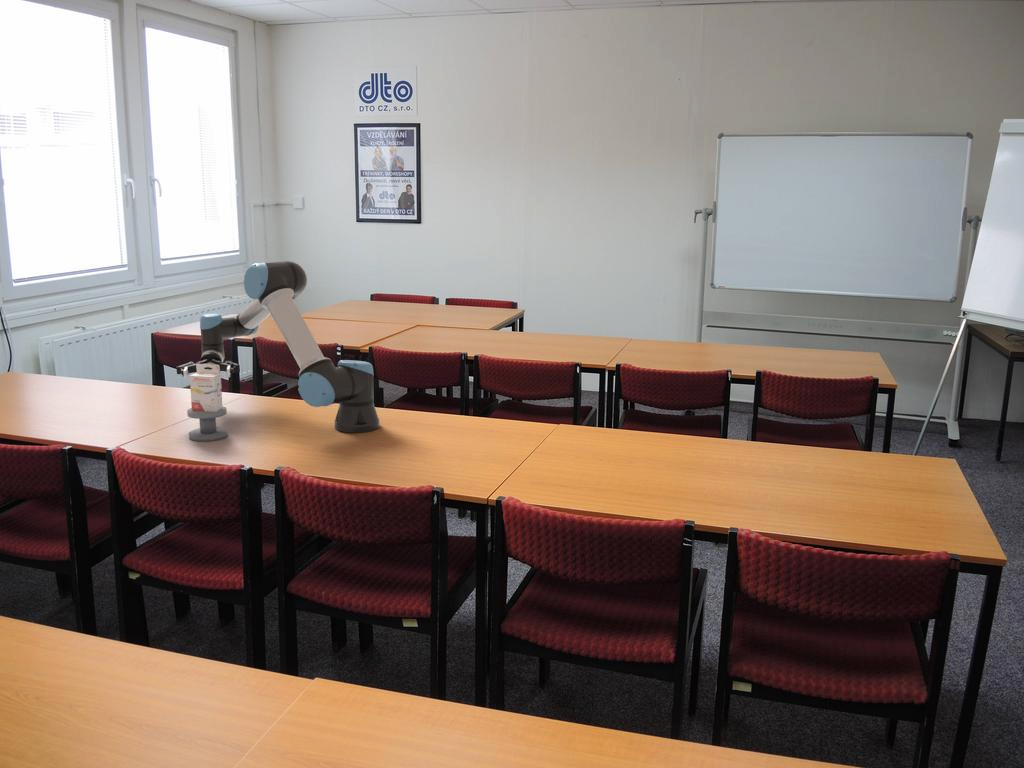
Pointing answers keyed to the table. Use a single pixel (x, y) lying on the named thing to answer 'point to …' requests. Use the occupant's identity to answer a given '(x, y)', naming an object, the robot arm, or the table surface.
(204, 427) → the stand
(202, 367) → the ink cartridge box
